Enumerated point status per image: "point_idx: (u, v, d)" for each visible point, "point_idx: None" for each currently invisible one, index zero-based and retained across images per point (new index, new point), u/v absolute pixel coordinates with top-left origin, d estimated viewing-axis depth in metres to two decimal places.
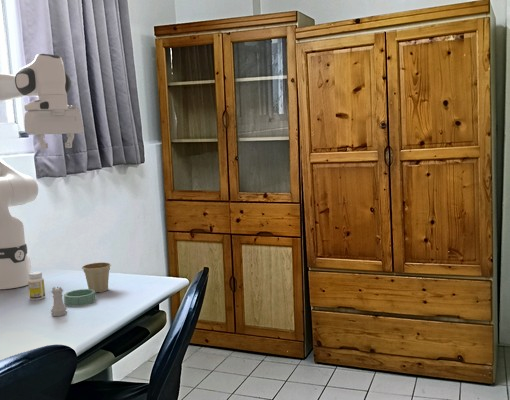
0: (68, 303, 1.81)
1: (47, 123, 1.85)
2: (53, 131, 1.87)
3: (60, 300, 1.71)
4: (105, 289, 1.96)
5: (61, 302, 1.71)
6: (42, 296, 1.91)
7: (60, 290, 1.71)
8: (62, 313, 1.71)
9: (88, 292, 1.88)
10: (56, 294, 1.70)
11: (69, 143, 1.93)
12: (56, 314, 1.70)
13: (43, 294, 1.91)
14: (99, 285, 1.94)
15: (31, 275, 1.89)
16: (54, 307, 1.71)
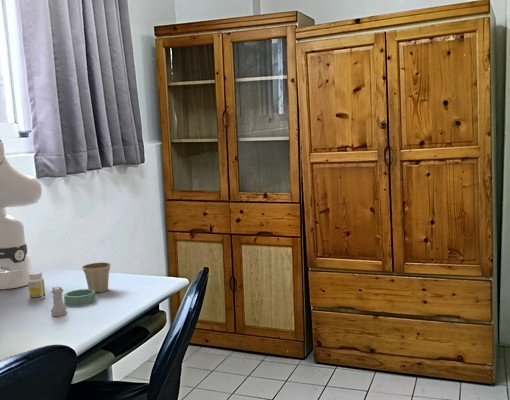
0: (68, 303, 1.81)
1: None
2: None
3: (60, 300, 1.71)
4: (105, 289, 1.96)
5: (61, 302, 1.71)
6: (42, 296, 1.91)
7: (60, 290, 1.71)
8: (62, 313, 1.71)
9: (88, 292, 1.88)
10: (56, 294, 1.70)
11: (16, 276, 1.59)
12: (56, 314, 1.70)
13: (43, 294, 1.91)
14: (99, 285, 1.94)
15: (31, 275, 1.89)
16: (54, 307, 1.71)
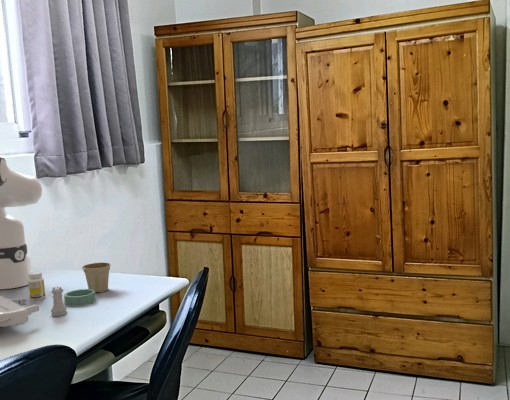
0: (68, 303, 1.81)
1: None
2: None
3: (60, 300, 1.71)
4: (105, 289, 1.96)
5: (61, 302, 1.71)
6: (42, 296, 1.91)
7: (60, 290, 1.71)
8: (62, 313, 1.71)
9: (88, 292, 1.88)
10: (56, 294, 1.70)
11: None
12: (56, 314, 1.70)
13: (43, 294, 1.91)
14: (99, 285, 1.94)
15: (31, 275, 1.89)
16: (54, 307, 1.71)
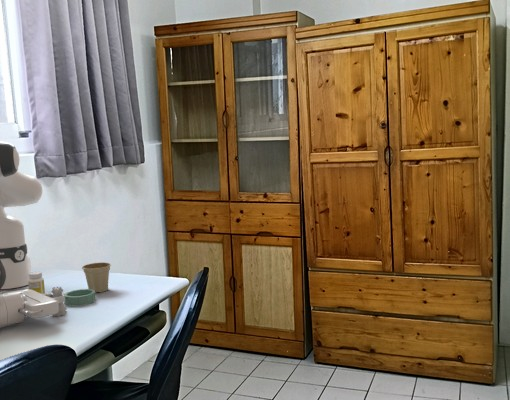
0: (68, 303, 1.81)
1: None
2: None
3: None
4: (105, 289, 1.96)
5: None
6: None
7: (60, 290, 1.71)
8: (62, 313, 1.71)
9: (88, 292, 1.88)
10: (56, 294, 1.70)
11: None
12: (56, 314, 1.70)
13: None
14: (99, 285, 1.94)
15: (31, 275, 1.89)
16: None
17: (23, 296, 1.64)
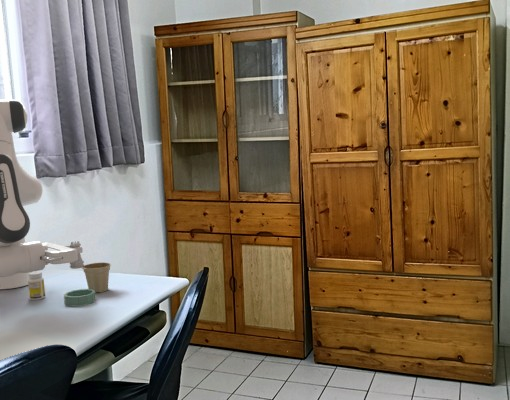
0: (68, 303, 1.81)
1: None
2: None
3: (78, 253, 1.83)
4: (105, 289, 1.96)
5: (79, 255, 1.83)
6: (42, 296, 1.91)
7: (78, 244, 1.82)
8: (80, 265, 1.82)
9: (88, 292, 1.88)
10: None
11: (77, 253, 1.82)
12: (74, 266, 1.82)
13: (43, 294, 1.91)
14: (99, 285, 1.94)
15: (31, 275, 1.89)
16: None
17: (44, 245, 1.75)
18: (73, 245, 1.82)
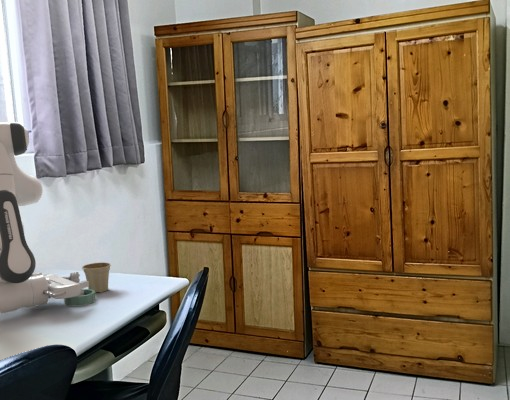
0: (68, 303, 1.81)
1: None
2: None
3: None
4: (105, 289, 1.96)
5: None
6: None
7: (77, 274, 1.85)
8: (80, 295, 1.85)
9: (88, 292, 1.88)
10: (74, 278, 1.85)
11: None
12: None
13: None
14: (99, 285, 1.94)
15: None
16: None
17: (47, 279, 1.76)
18: (72, 276, 1.84)
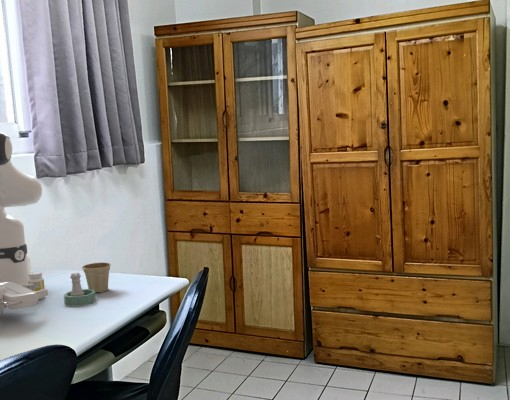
0: (68, 303, 1.81)
1: None
2: None
3: (78, 285, 1.85)
4: (105, 289, 1.96)
5: (79, 287, 1.85)
6: None
7: (78, 275, 1.85)
8: None
9: (88, 292, 1.88)
10: (74, 279, 1.85)
11: None
12: None
13: None
14: (99, 285, 1.94)
15: (31, 275, 1.89)
16: (73, 291, 1.84)
17: (3, 288, 1.68)
18: (73, 276, 1.84)
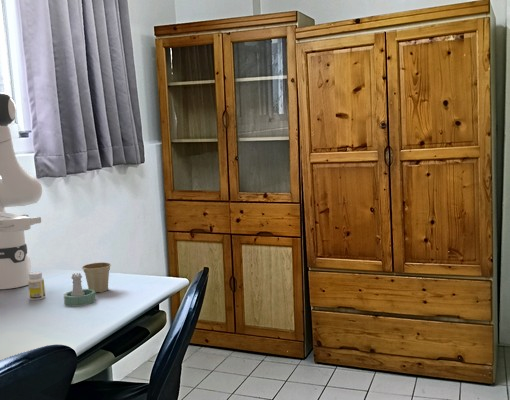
0: (68, 303, 1.81)
1: None
2: None
3: (79, 285, 1.85)
4: (105, 289, 1.96)
5: (80, 287, 1.85)
6: (42, 296, 1.91)
7: (79, 276, 1.84)
8: None
9: (88, 292, 1.88)
10: (76, 280, 1.84)
11: None
12: None
13: (43, 294, 1.91)
14: (99, 285, 1.94)
15: (31, 275, 1.89)
16: (73, 292, 1.84)
17: None
18: (74, 277, 1.84)
